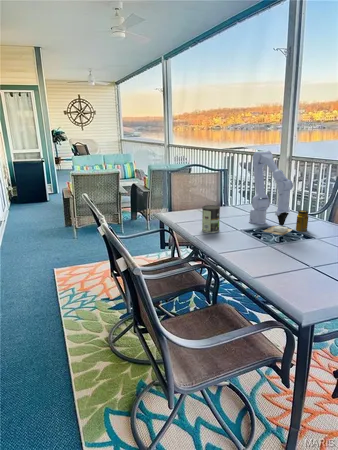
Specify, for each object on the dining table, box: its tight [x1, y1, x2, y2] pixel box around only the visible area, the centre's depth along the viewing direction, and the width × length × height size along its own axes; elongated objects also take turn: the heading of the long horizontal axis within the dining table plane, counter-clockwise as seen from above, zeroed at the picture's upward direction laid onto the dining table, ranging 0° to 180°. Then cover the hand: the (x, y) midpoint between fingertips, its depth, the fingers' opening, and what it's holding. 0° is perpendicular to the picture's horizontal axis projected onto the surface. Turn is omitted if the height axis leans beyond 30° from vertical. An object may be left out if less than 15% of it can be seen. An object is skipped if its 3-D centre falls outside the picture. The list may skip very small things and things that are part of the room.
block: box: [273, 225, 289, 233], centre depth 184 cm, size 6×2×6 cm
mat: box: [263, 225, 293, 236], centre depth 185 cm, size 12×14×1 cm
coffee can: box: [201, 204, 221, 234], centre depth 187 cm, size 10×10×14 cm
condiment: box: [295, 209, 309, 233], centre depth 183 cm, size 7×8×12 cm
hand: (281, 225), depth 184 cm, fingers closed
